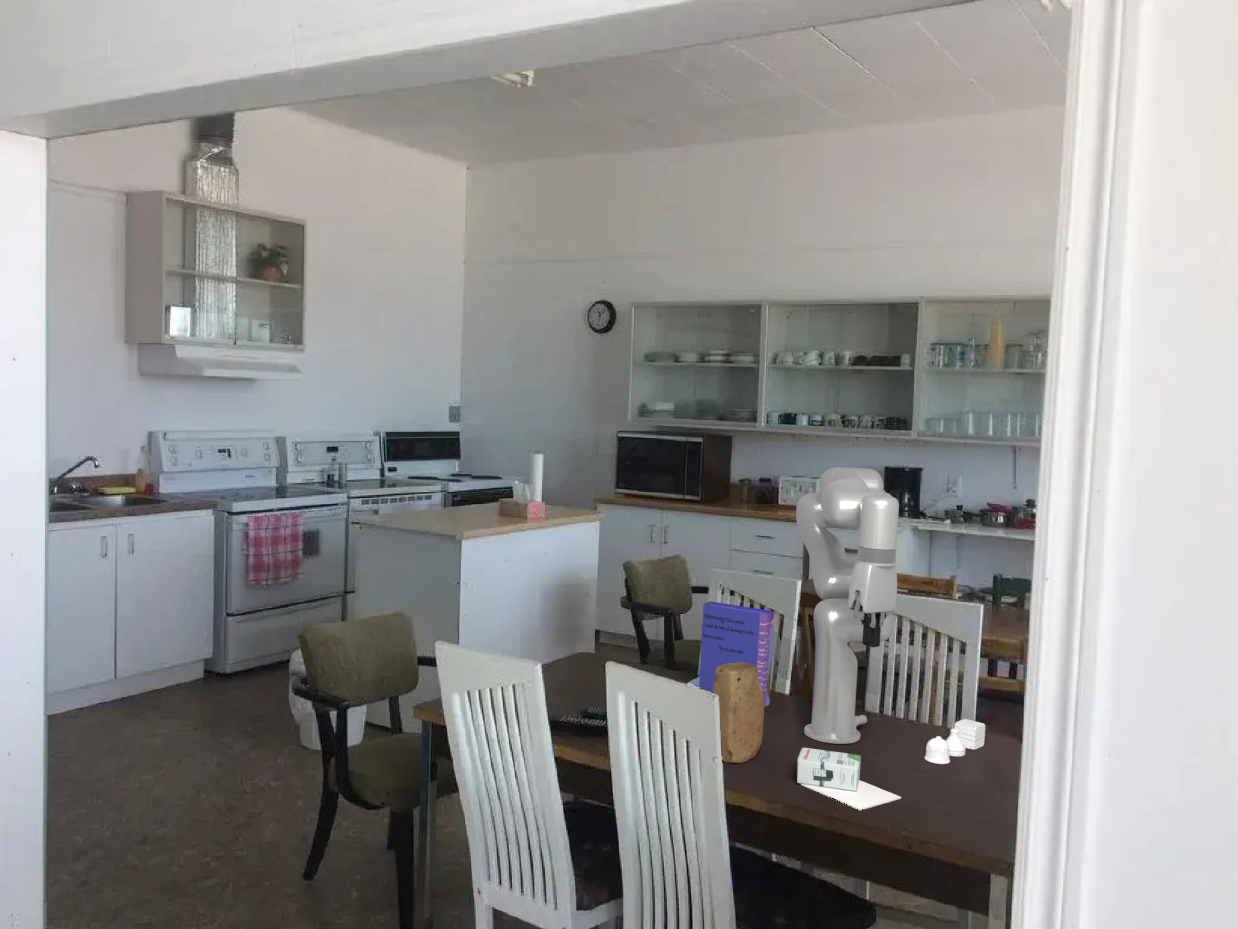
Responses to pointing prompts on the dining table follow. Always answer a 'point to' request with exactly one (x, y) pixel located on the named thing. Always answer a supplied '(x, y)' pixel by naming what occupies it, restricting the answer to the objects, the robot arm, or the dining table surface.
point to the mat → (857, 795)
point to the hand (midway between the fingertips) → (870, 645)
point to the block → (739, 710)
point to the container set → (956, 741)
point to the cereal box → (736, 642)
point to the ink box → (828, 769)
